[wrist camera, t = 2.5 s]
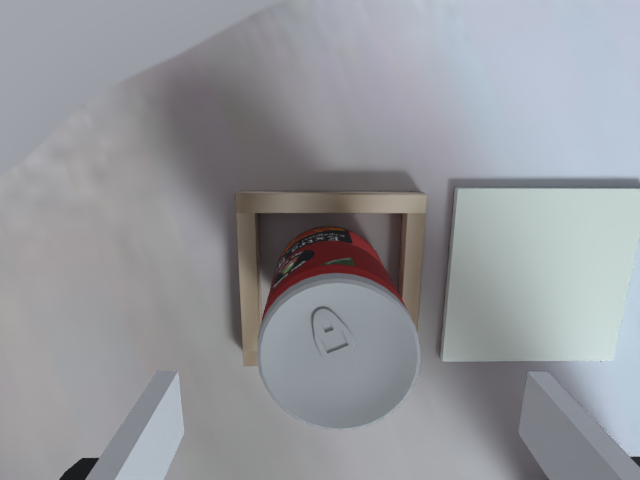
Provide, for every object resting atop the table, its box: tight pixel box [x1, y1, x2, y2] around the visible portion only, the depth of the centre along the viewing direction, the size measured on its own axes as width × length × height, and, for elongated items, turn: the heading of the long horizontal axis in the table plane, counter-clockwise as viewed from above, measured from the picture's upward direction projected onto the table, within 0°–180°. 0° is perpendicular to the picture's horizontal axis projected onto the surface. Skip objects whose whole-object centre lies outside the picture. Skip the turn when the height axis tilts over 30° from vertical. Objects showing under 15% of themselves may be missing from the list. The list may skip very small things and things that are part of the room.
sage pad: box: [440, 187, 640, 362], centre depth 29 cm, size 13×13×1 cm
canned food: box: [257, 227, 421, 430], centre depth 24 cm, size 8×8×11 cm
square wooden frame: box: [235, 191, 427, 366], centre depth 28 cm, size 12×12×2 cm
